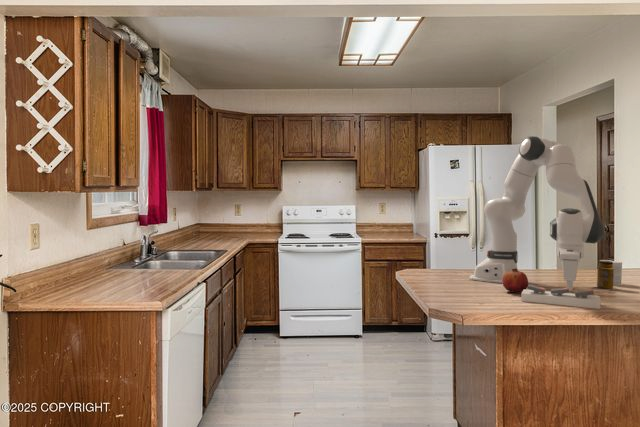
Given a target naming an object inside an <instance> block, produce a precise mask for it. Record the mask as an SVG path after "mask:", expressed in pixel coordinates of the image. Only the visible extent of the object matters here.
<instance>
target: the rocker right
mask: <svg viewBox="0 0 640 427" xmlns="http://www.w3.org/2000/svg"><path fill="white" fill-rule="evenodd" d="M574 294H575V296H586V295H594V296H595V292H594V289H593V288H591V289H587V290H586V289H585V290H577V291H576V290H575V291H574Z"/></svg>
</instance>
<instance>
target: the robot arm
mask: <svg viewBox="0 0 640 427" xmlns="http://www.w3.org/2000/svg"><path fill="white" fill-rule="evenodd" d="M518 152H519V153H518V155H517V156H516V158H515V159H514V162H513V163H512V164H511V167H510V169H509V171H508V174H507V176H506V177H505V180H504V181H503V182H504V183H503V186H504V191H503V195H502V197H499V198H498V197H497V198H493V199H491V200H488V201H487V202H486V203H485V205H484V207H483V213H484V216H485V217H486V218H487V221H488V223H489V227H490V232H491V249H489V250H487V252H486V253H487V254H486V256H487V257H486V258H485V259H483V260H482V261H481V262H479V263H478V264H476V265H475V268H474V272H473V274H470V275H469V279H470V280H471V281H477V282H480V281H481V282H487V283H495V284H496V283H497V284H503V282H502V278H503V276H504V274H505V273H506V272H509V271H512V269H518V260H519V253H518V250H517V248H518V247H517V246H518V245H517V243H518V242H517V240H518V239H517V238H518V236H517V235H518V234H517V233H516V231H515V230H514V226H513V225H514V224H513V222H515V221H517V220H519V219H521V218H523V216H524V214H525V213H526V207H525V204H526V200H527V195H528V192H529V190H530V188H531V186H532V183H533V181H534V179H535V177H536V175H537V172H538V170H539V169H540V167H542V166H545V174H546V180H547V181H546V182H547V183H548V185H549V186H550V187H551V188H552V189H553V190H555V191H557V192H560V193H564V194H567V195H569V196H572V197H575V198H577V200H579V202H580V204H581V208H582V210H583V212H582V211H581V210H580V209H578V208H569V207H568V208H561V209H560V210H559V211H558V214H557V217H555V218H554V219H552V220H551V221H550V222H549V229H550V230H549V236H550V238H551V239H552V240H554V241H556V257H557V258H559V259H560V262H561V266H562V267H561V268H562V275H563V279H564V281H566V288H567V289H569V291H573V289H574V288H573V286H574V282H575V281H576V279H577V272H578V266H579V263H580V260H581V259H583V258H584V257H585V256H584V255H585V254H584V250H585V249H584V247H585V246H584V243H586V244H594V245H595V244H597V243H598V242H600V241H601V240H602V239H603V238H604V237H605V227H604V226H605V225H604V223H603V221H602V218H601V217H600V214H599V211H598V208H597V205H596V202H595V200H594V196H593V193H592V190H591V188H590V185H589V183H588V181H587V180H585V179H583V178H582V177H581V176H580V175H579V173H578V171H577V164H576V159H575V155H574V152H573V150H572V148H571V147H570V146H569V145H567V144H564V143H559V142H558V141H555V140H552V139H546V138H542V137H538V136H534V135H533V136H530V135H529V136H527V137H525V138H524V139H523V140H522V142H521V143H520V145H519V149H518ZM583 213H584V217H583Z"/></svg>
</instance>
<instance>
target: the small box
mask: <svg viewBox="0 0 640 427" xmlns="http://www.w3.org/2000/svg"><path fill="white" fill-rule="evenodd" d="M599 261H612V262H613V268H614V275H613V277H614V278H613V287H614V286H615V287H617V286H622V278H623V277H622V276H623V262H619V261H614V260H610V259H609V260H608V259H600V260H599ZM599 261H598V262H599Z"/></svg>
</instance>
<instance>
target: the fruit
mask: <svg viewBox="0 0 640 427" xmlns="http://www.w3.org/2000/svg"><path fill="white" fill-rule="evenodd" d="M502 282H503V283H502V286H503V288H504V289H505V290H506V291H508V292H511V293H514V294H516V293H522V291H523V290H524V289H526V290H528V289H527V288H528V285H529V279H528V277H527V275H526V274H525V273H524V272H523V271H519V270H518V268H517V269H512V271H509V272H506V273H505V274H504V276H503V278H502Z"/></svg>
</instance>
